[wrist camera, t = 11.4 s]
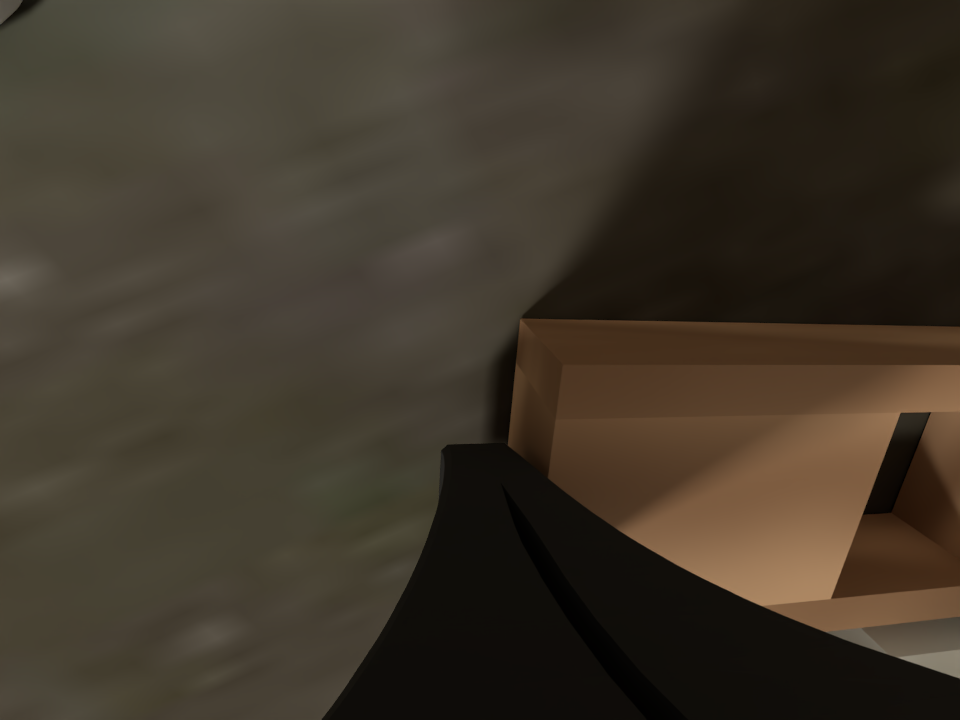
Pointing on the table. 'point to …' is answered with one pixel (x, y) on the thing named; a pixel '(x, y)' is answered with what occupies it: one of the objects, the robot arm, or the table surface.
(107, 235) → the table surface
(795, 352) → the rectangular frame
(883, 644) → the tray
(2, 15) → the energy drink
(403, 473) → the table surface
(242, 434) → the table surface
